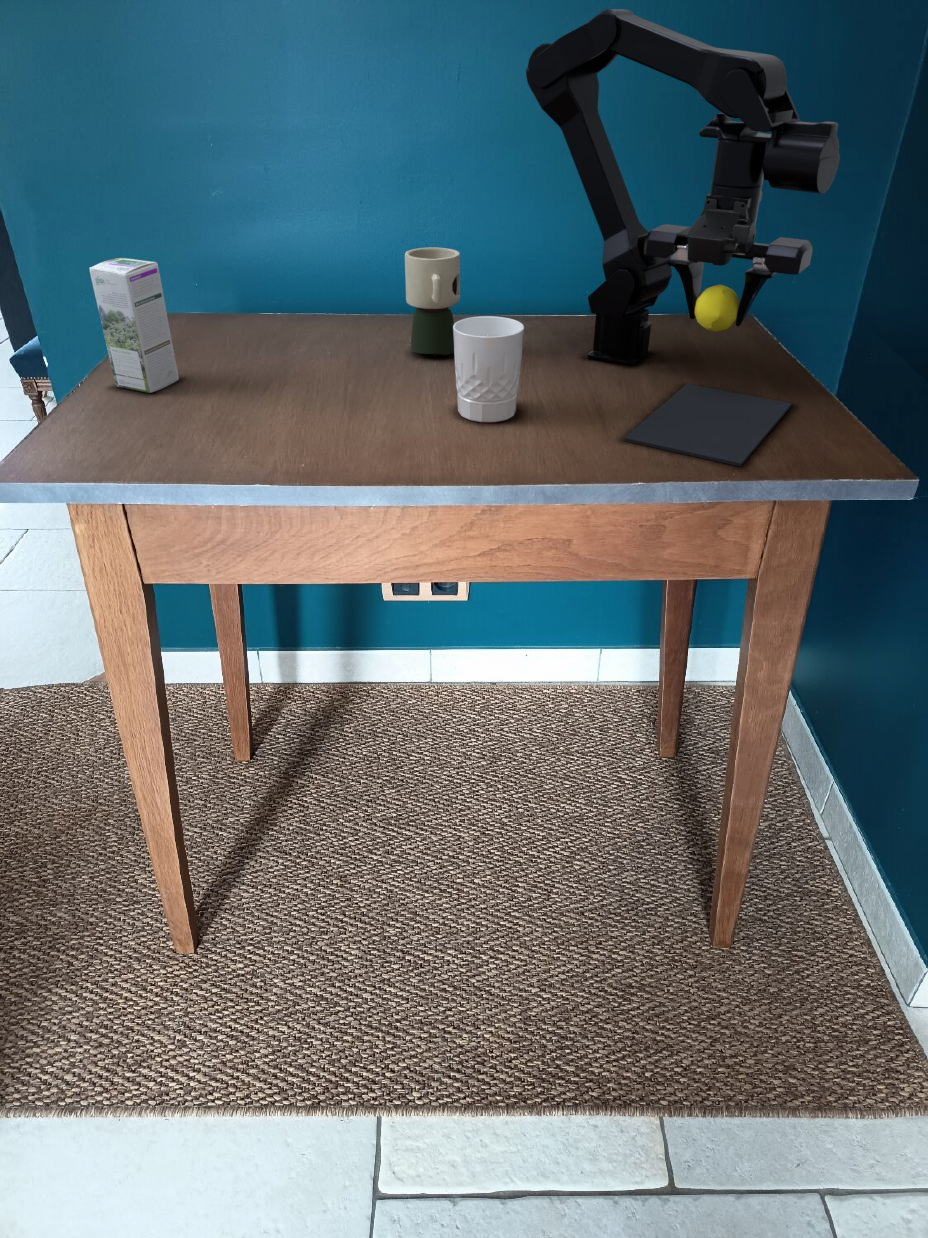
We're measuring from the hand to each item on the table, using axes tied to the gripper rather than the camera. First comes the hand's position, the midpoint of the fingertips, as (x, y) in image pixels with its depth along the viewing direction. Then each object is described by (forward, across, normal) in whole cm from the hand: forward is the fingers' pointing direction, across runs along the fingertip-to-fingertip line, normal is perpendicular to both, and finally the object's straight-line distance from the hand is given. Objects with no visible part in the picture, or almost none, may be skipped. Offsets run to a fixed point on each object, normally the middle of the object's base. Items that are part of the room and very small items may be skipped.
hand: (715, 321), depth 114 cm
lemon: (+1, 0, 0) cm, 1 cm away
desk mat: (+7, +5, -14) cm, 17 cm away
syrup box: (+7, -59, -39) cm, 71 cm away
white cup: (+7, -18, -25) cm, 32 cm away
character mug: (+7, -35, -10) cm, 37 cm away
